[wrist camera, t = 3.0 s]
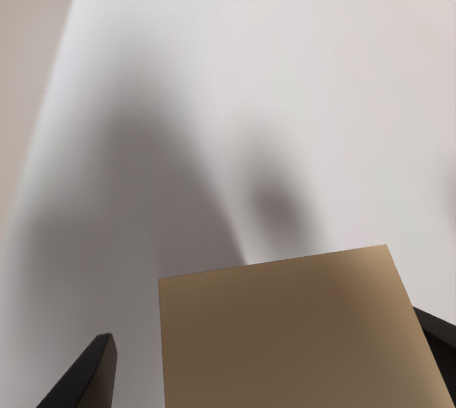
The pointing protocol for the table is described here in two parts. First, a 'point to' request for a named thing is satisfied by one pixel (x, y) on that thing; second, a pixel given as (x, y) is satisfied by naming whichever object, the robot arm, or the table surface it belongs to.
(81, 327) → the table surface
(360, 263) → the tall oak block
